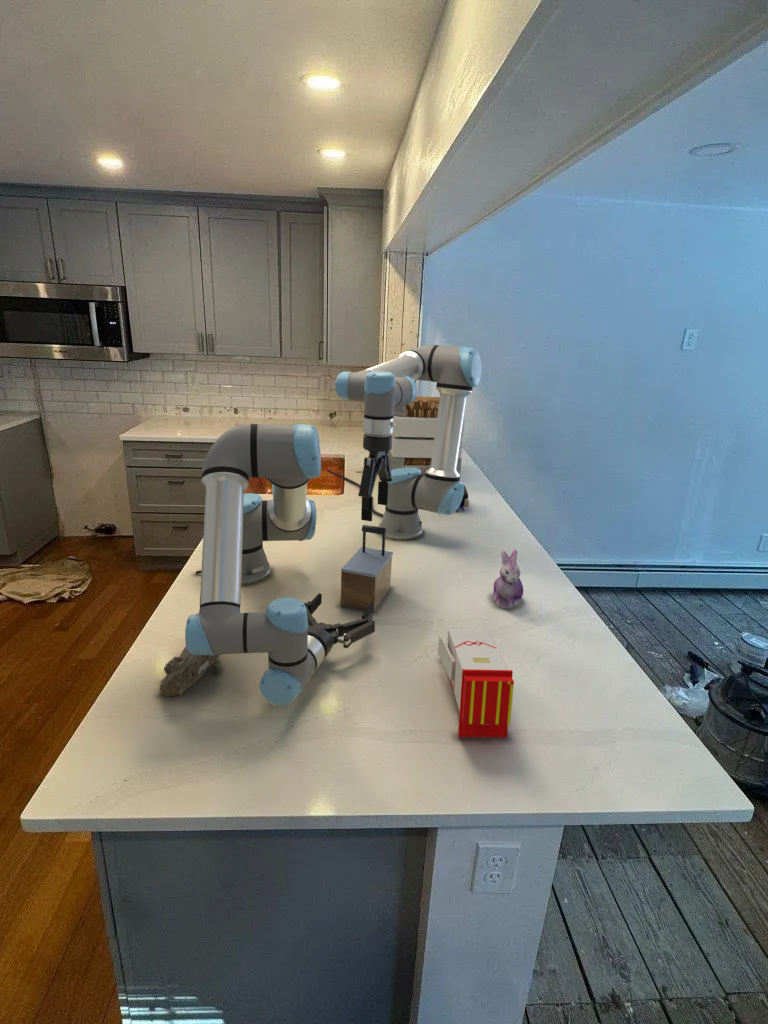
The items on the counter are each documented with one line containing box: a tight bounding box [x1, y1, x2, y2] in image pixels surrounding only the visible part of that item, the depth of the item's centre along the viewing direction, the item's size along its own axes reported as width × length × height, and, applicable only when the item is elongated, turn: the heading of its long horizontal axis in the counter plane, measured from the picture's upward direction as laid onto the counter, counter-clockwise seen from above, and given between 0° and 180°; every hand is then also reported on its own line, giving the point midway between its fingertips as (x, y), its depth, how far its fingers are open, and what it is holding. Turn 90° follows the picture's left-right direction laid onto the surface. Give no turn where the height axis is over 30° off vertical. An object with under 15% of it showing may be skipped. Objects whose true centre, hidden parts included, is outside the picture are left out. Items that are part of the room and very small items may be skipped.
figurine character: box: [455, 485, 470, 512], centre depth 229 cm, size 7×8×15 cm
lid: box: [340, 524, 394, 577], centre depth 151 cm, size 16×9×9 cm, turn 163°
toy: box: [437, 628, 515, 738], centre depth 117 cm, size 12×13×30 cm
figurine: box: [492, 548, 524, 609], centre depth 154 cm, size 9×10×15 cm
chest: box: [340, 555, 393, 613], centre depth 154 cm, size 15×9×10 cm, turn 163°
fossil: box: [159, 642, 221, 697], centre depth 120 cm, size 22×10×15 cm
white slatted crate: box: [389, 395, 465, 482], centre depth 268 cm, size 34×33×41 cm
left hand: (345, 603), depth 139 cm, fingers open, 13 cm apart
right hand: (374, 512), depth 152 cm, fingers open, 13 cm apart
